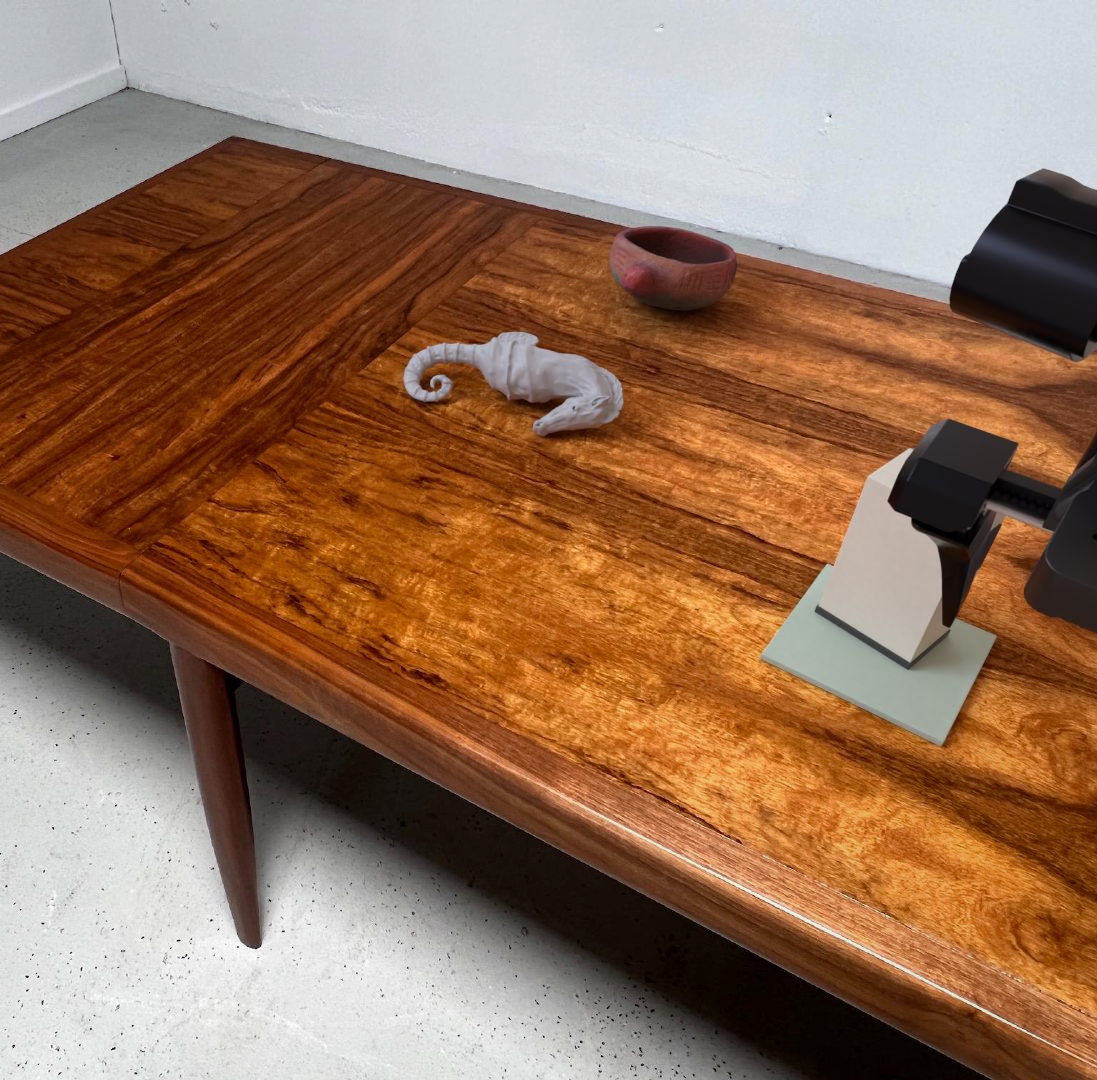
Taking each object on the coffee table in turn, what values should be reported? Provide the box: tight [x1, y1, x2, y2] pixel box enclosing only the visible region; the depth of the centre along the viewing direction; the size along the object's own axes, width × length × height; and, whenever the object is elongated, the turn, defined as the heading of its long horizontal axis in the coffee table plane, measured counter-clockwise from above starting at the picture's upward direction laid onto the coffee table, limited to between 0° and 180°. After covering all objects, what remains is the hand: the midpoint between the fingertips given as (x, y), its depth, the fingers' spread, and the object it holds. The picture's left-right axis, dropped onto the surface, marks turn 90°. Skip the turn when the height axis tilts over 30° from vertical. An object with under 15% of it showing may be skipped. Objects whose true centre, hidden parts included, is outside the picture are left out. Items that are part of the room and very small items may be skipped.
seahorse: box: [402, 331, 625, 437], centre depth 95 cm, size 5×12×20 cm
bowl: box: [609, 225, 738, 311], centre depth 107 cm, size 16×13×8 cm
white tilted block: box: [815, 447, 1007, 670], centre depth 70 cm, size 5×7×12 cm
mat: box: [759, 563, 998, 747], centre depth 73 cm, size 12×12×1 cm
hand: (1041, 663), depth 54 cm, fingers open, 9 cm apart
